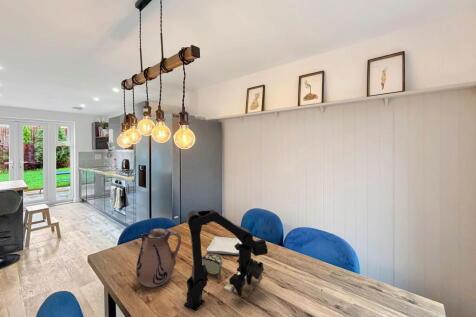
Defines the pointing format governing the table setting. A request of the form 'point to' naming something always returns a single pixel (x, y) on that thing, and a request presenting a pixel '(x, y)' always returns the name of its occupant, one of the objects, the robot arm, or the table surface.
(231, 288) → the ash board
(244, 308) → the table surface
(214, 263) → the food container
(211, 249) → the salad plate
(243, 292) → the board
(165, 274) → the ceramic pitcher
